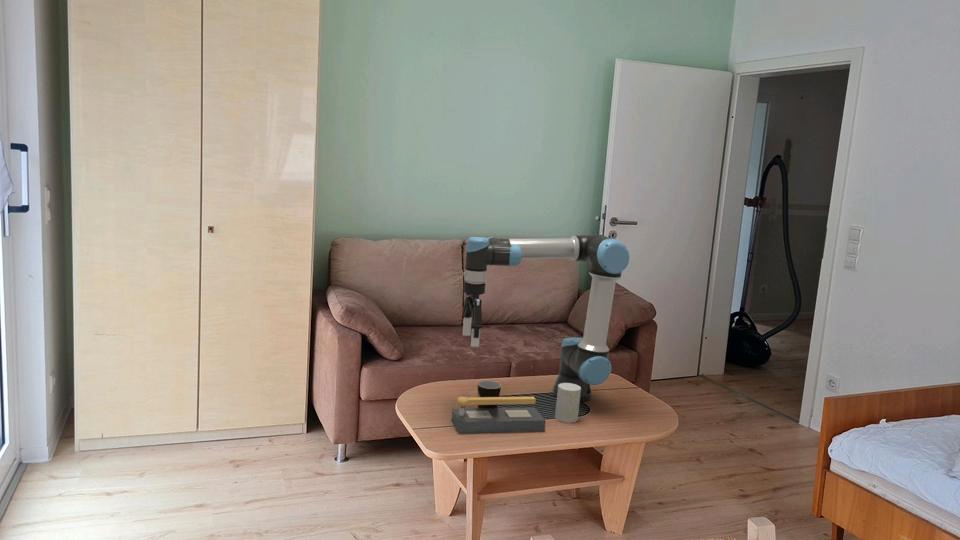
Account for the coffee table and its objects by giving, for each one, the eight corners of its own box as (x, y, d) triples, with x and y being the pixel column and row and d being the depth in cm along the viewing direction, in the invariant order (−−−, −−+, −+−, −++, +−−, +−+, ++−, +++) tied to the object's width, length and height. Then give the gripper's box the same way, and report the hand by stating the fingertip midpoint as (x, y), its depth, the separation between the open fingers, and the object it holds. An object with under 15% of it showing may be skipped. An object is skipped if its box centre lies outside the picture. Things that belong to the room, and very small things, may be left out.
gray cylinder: (563, 424, 257) (566, 391, 255) (550, 415, 264) (553, 383, 262) (582, 421, 261) (585, 389, 259) (569, 413, 268) (572, 382, 266)
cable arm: (458, 406, 244) (458, 400, 244) (456, 402, 247) (456, 396, 247) (535, 405, 251) (536, 399, 251) (532, 401, 254) (533, 395, 254)
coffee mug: (496, 416, 259) (499, 390, 257) (473, 413, 260) (475, 386, 258) (502, 405, 270) (504, 380, 268) (479, 402, 271) (481, 376, 270)
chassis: (533, 417, 260) (535, 398, 259) (544, 431, 249) (546, 410, 248) (451, 419, 253) (453, 399, 252) (458, 433, 241) (460, 412, 240)
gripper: (457, 274, 264) (453, 330, 268) (472, 289, 240) (467, 351, 244) (477, 274, 266) (473, 331, 269) (494, 289, 242) (489, 351, 246)
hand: (470, 340), depth 257 cm, fingers open, 13 cm apart
